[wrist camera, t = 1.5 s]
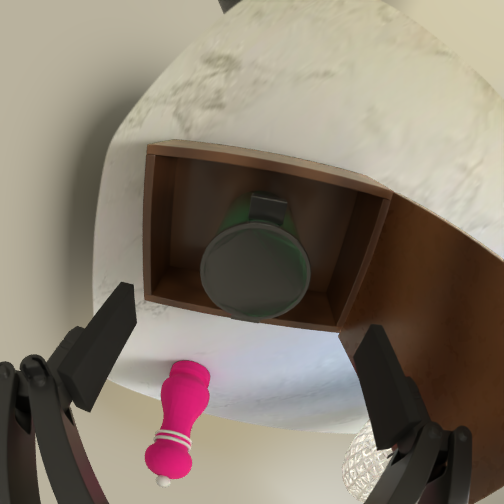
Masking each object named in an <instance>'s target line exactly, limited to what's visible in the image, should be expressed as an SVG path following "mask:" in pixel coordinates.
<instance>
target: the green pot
mask: <svg viewBox="0 0 504 504" xmlns="http://www.w3.org/2000/svg"><path fill="white" fill-rule="evenodd" d="M200 277H201V281H202V285H203V287H204V290H205V292H206V293H207V295H208V296H209V298H210V299H211V300H212V301H213V302H214V303H215V304H216V305H217V306H218V307H219V308H221V309H222V310H224V311H225V312H227V313H229V314H231V317H230V318H231V319H235V320H241V321H247V322H253V323H259V322H260V320H263V319H270V318H274V317H277V316H280V315H282V314H284V313H286V312H288V311H289V310H291V309H292V308H293V307H295V306H296V305H297V304H298V303H299V302H300V301H301V299H302V298H303V297H304V295H305V293H306V292H307V290H308V287H309V284H310V280H311V265H310V260H309V257H308V254H307V252H306V250H305V248H304V246H303V245H302V243H301V239H300V236H299V232H298V229H297V225H296V222H295V218H294V215H293V212H292V210H291V208H290V207H289V205H288V202H287V200H286V199H282V198H280V197H279V196H277V195H275V194H273V193H271V192H267V191H251V192H247V193H244V194H242V195H240V196H239V197H237V198H236V199H235V200H233V202H232V203H231V204H230V205H229V206H228V208H227V210H226V212H225V214H224V216H223V218H222V221H221V223H220V225H219V227H218V229H217V232H216V234H215V236H214V238H213V239H212V240H211V241H210V243H209V244H208V245H207V247H206V249H205V251H204V253H203V256H202V259H201V264H200Z"/></svg>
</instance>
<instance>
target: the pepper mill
mask: <svg viewBox="0 0 504 504" xmlns="http://www.w3.org/2000/svg"><path fill="white" fill-rule="evenodd" d="M209 381H210V373H209V372H208V370H207V369H206V368H205V367H203V366H202V365H200V364H198V363H196V362H193V361H178V362H176V363H174V364H173V366H172V368H171V371H170V375H169V378H167V379H166V380H165V381H164V383H163V385H162V389H161V401H162V406H163V412H164V419H163V423H162V426H161V428H160V430H158V431H156V432H155V437H154V442H155V443H154V444H152V445H150V446H149V447H148V448H147V450H146V452H145V462H146V465H147V466H148V468H149V469H150V470H151V471H152V472H153V473H155V474H157V475H159V476H158V477H157V478H156V482H157V484H158V485H159V486H161V487H168V486H169V485H170V483H171V482H170V479H179V478H182V477H184V476H186V475H187V474H188V473H189V471H190V470H191V467H192V459H191V456H190V455H189V454H188V452H189V451H190V450H191V445H192V441H191V439H190V431H191V428H192V425H193V424H194V422H195V420H196V419H197V418H198V417H199V416H200V415H201V414H202V412H203V411H204V410H205V408H206V407H207V405H208V401H209V396H210V395H209V391H208V389H207V388H208V386H209Z"/></svg>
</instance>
